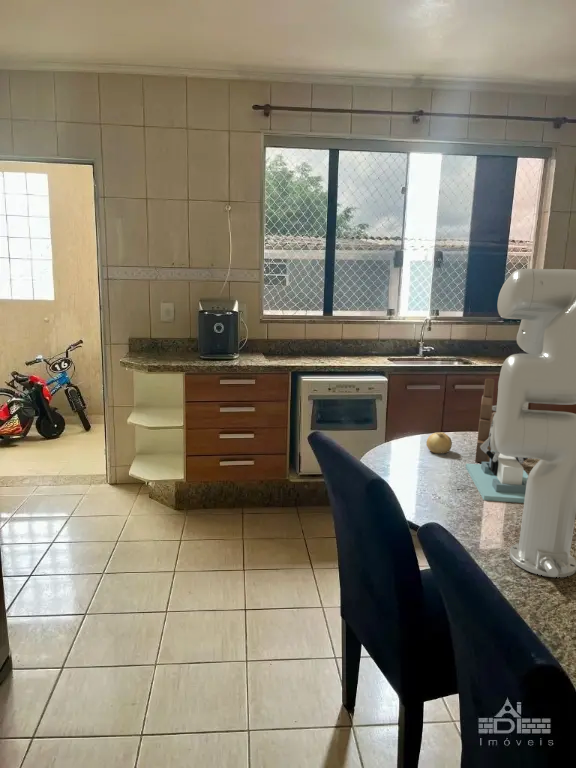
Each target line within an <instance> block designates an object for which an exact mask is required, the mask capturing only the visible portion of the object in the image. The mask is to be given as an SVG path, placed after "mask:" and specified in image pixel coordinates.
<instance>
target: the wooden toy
mask: <svg viewBox="0 0 576 768" xmlns="http://www.w3.org/2000/svg"><path fill="white" fill-rule="evenodd" d="M483 386H484V387H483V394H482V396H481V401H480V402H481V403H480V404H481V405H480V413H479V422H478V431H477V440H476V441H477V442H476V449H475V450H476V451H475V461H474V462H475V463H479V464H482V462H490V457H489V456H488V455H487V454H486V453H485V452H484V451H482V450H481V448H480V446H481V445H482V444H483V443H484V442H485V441H486V440H487V439H488V438H489V432H490V428H491V424H492V420H493V417H494V414H495V413H496V411H493V410H492V406H493V401H494V389H495V379H493V378H485V380H484V385H483ZM487 449H489V450H490V451H491V448H490V446H488V447H487Z"/></svg>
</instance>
